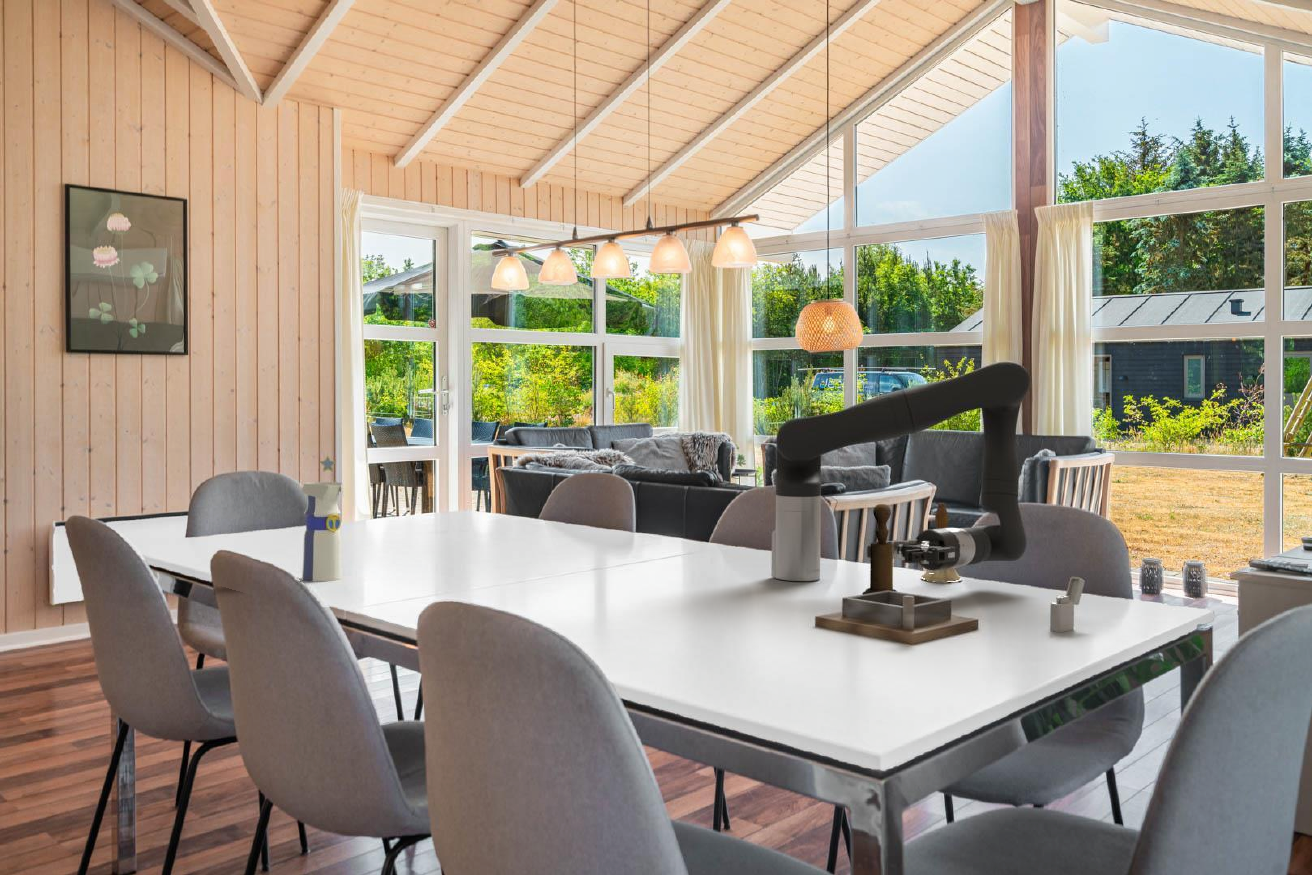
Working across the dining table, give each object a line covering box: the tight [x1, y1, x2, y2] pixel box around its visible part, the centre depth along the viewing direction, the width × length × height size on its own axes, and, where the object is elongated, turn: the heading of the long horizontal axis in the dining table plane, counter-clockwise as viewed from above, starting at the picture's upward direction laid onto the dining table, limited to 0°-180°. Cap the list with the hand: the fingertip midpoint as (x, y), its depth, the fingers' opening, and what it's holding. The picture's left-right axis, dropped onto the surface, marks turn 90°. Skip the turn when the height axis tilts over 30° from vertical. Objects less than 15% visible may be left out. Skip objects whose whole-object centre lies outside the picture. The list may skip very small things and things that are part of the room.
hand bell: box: [921, 502, 962, 582], centre depth 216 cm, size 8×8×16 cm
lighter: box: [1049, 576, 1086, 633], centre depth 164 cm, size 7×2×8 cm, turn 128°
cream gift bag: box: [301, 455, 344, 582], centre depth 211 cm, size 8×9×25 cm
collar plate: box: [814, 590, 979, 645], centre depth 164 cm, size 18×18×6 cm
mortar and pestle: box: [861, 503, 898, 595], centre depth 183 cm, size 7×6×18 cm
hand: (887, 554), depth 184 cm, fingers open, 8 cm apart
